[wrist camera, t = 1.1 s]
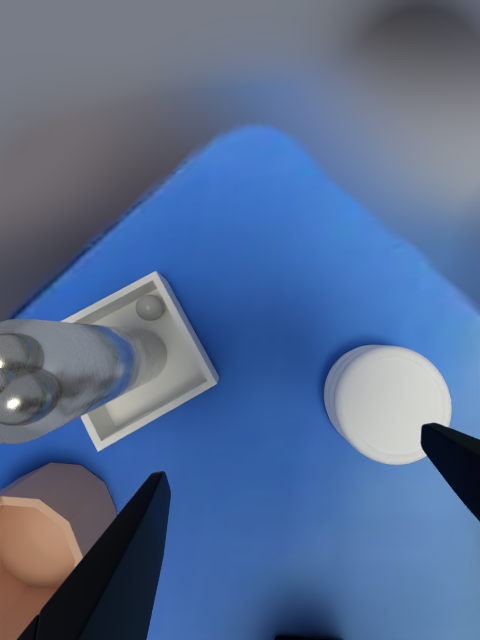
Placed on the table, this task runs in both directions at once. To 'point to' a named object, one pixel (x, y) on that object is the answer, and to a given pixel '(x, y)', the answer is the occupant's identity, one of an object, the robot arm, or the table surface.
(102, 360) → the silver ball-topped cylinder
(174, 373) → the tray
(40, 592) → the bowl
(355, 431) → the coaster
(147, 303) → the pebble
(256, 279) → the table surface
